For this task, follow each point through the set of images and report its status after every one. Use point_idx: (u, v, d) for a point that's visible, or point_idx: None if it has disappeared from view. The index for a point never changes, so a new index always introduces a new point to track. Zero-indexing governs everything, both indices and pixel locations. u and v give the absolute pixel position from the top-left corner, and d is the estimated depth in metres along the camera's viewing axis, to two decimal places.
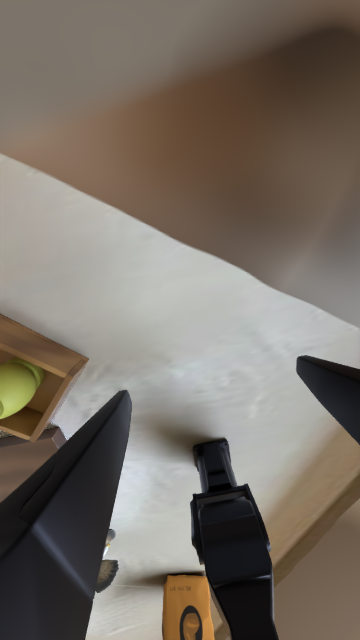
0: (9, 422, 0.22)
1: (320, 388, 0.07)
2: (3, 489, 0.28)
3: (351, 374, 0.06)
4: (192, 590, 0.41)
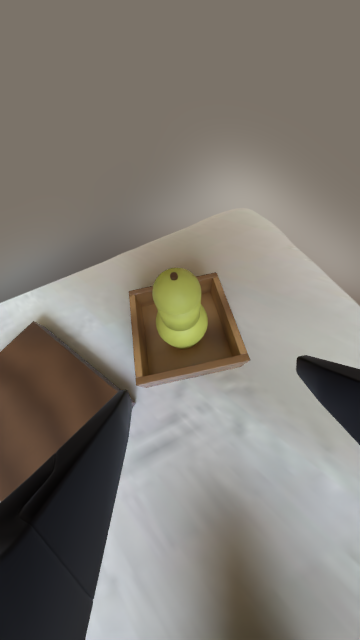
0: (141, 348, 0.20)
1: (320, 388, 0.07)
2: (5, 410, 0.20)
3: (351, 374, 0.06)
4: None
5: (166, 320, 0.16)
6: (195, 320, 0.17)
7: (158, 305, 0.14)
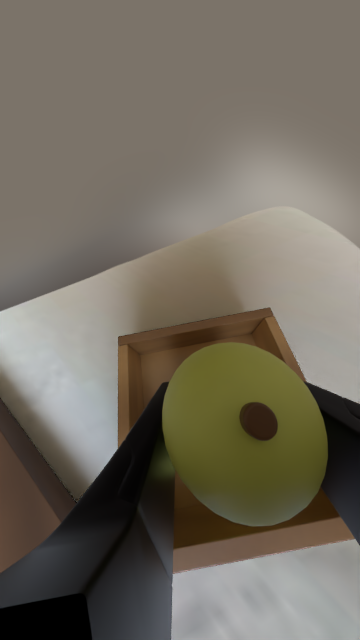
0: None
1: None
2: None
3: None
4: None
5: None
6: None
7: (182, 480, 0.04)
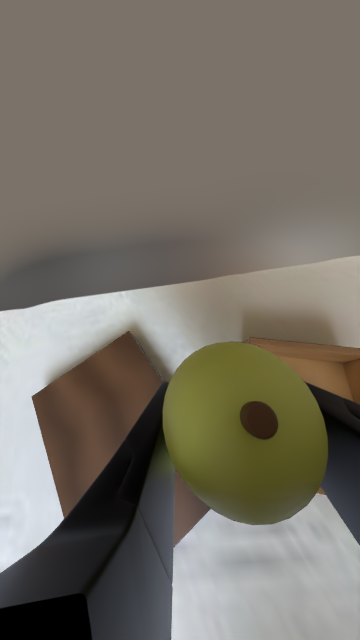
0: None
1: None
2: (89, 428, 0.18)
3: None
4: None
5: None
6: None
7: (183, 479, 0.04)
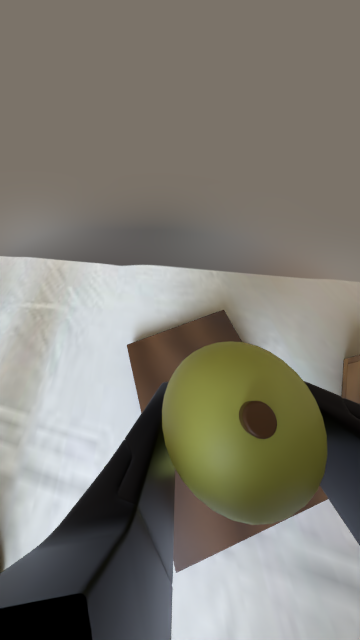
0: None
1: None
2: None
3: None
4: None
5: None
6: None
7: (182, 479, 0.04)
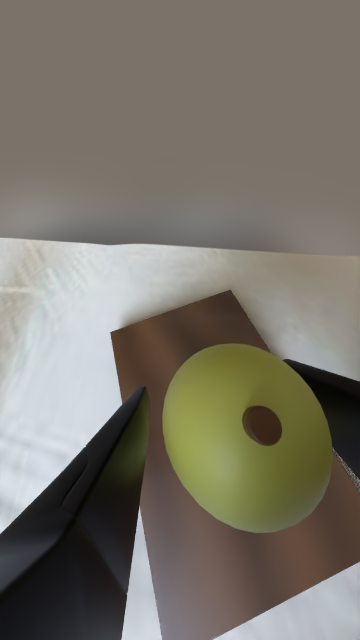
0: None
1: None
2: None
3: (326, 379, 0.06)
4: None
5: None
6: None
7: (183, 485, 0.04)
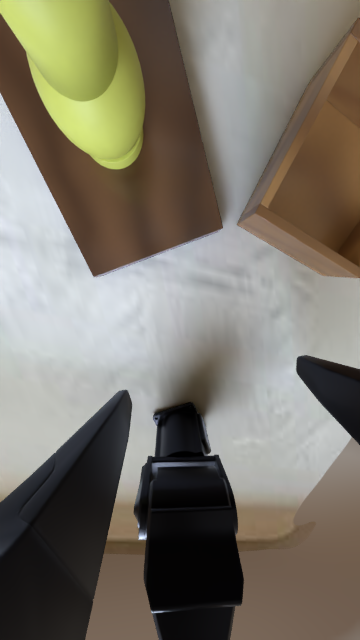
0: None
1: (320, 388, 0.07)
2: None
3: (351, 374, 0.06)
4: None
5: (22, 39, 0.07)
6: (102, 64, 0.08)
7: None
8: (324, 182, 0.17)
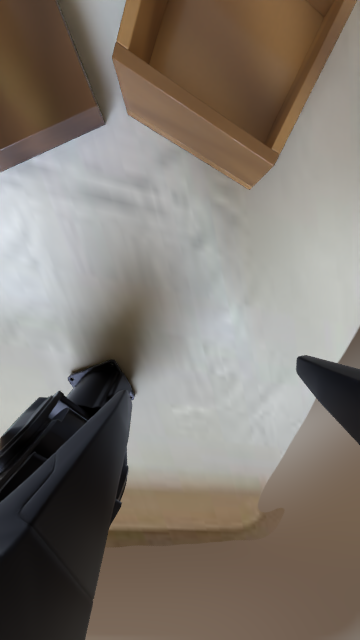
0: None
1: (320, 388, 0.07)
2: None
3: (351, 374, 0.06)
4: None
5: None
6: None
7: None
8: (229, 47, 0.13)
